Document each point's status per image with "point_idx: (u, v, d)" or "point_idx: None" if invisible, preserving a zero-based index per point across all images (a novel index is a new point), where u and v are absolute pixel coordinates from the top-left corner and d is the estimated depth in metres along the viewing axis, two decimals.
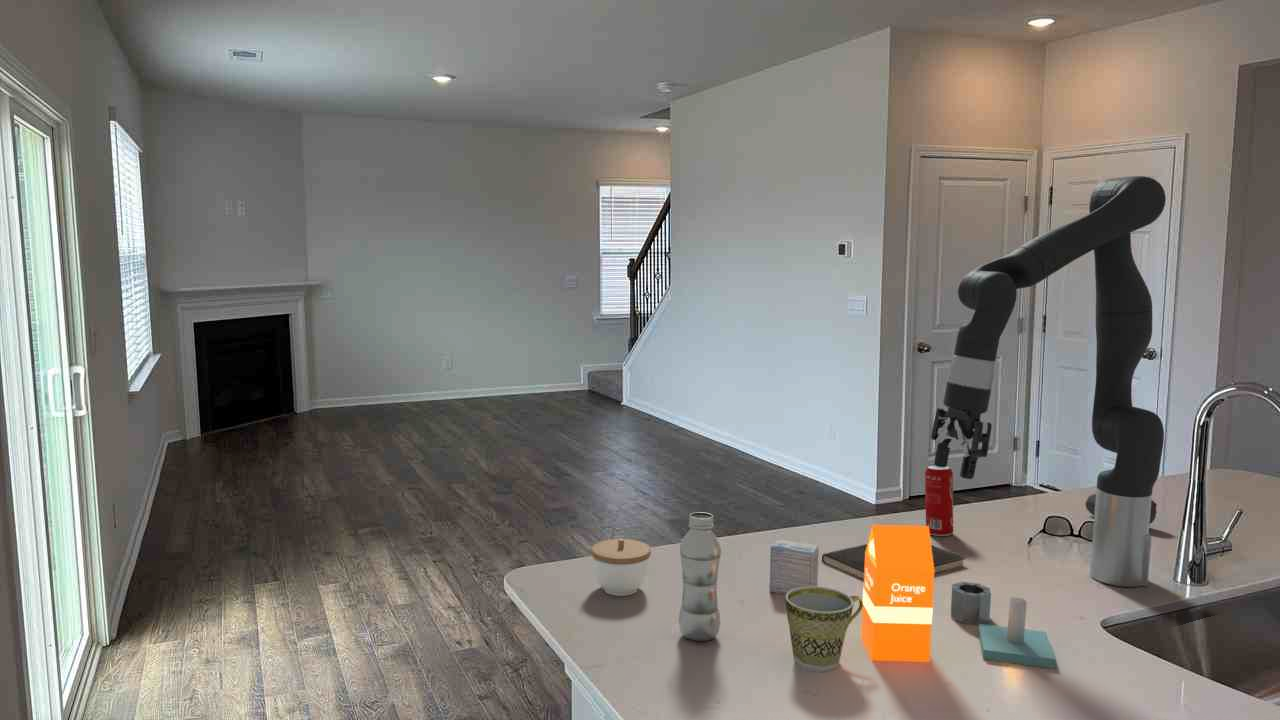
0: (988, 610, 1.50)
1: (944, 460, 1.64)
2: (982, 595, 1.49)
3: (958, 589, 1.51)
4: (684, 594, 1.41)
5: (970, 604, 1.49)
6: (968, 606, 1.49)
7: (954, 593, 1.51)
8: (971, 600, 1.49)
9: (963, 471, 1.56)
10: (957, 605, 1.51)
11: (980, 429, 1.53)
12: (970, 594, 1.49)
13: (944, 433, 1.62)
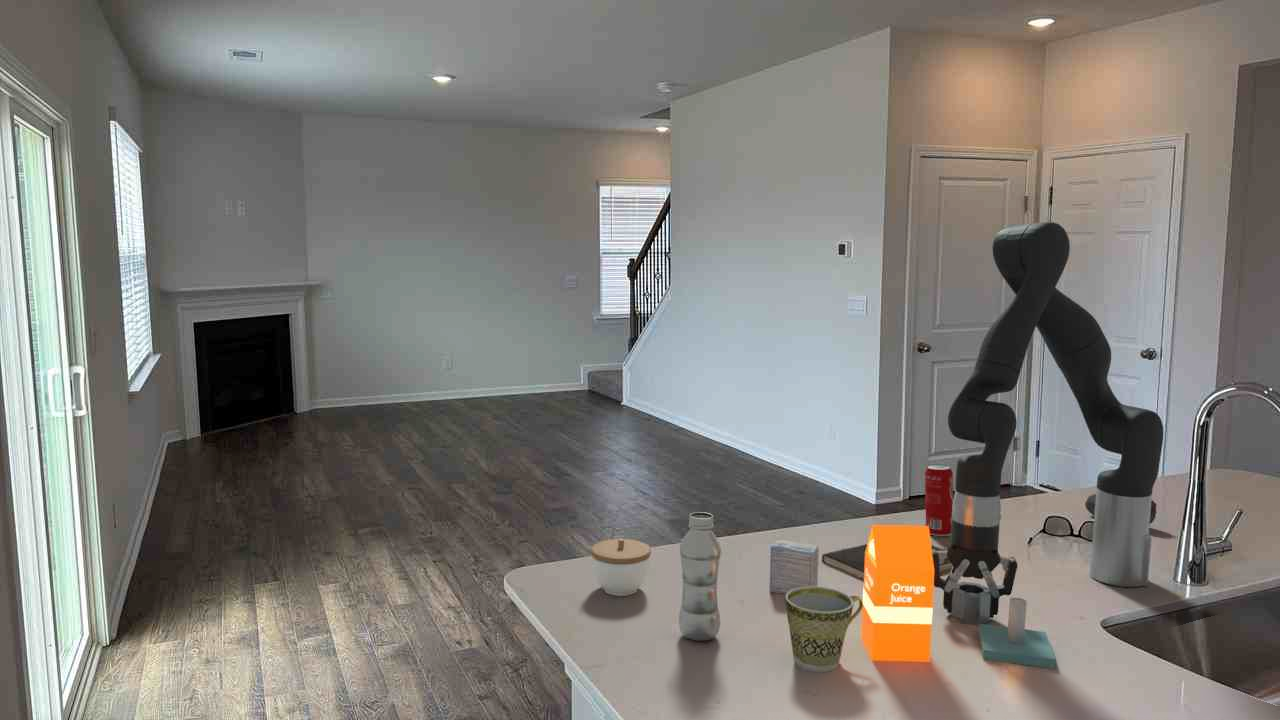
0: (988, 610, 1.50)
1: None
2: (982, 595, 1.49)
3: (958, 589, 1.51)
4: (684, 594, 1.41)
5: (970, 604, 1.49)
6: (968, 606, 1.49)
7: (954, 593, 1.51)
8: (971, 600, 1.49)
9: (993, 612, 1.50)
10: (957, 605, 1.51)
11: None
12: (970, 594, 1.49)
13: None
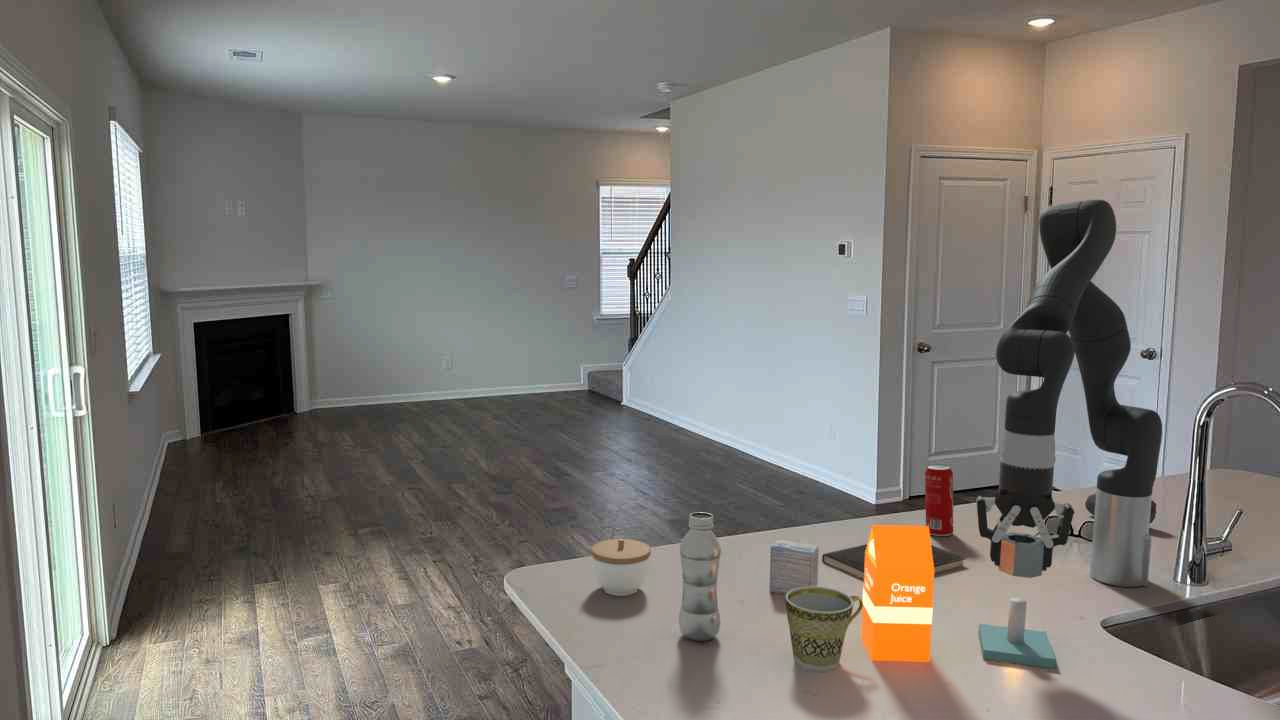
0: (1041, 561, 1.36)
1: None
2: (1034, 545, 1.35)
3: (1007, 539, 1.38)
4: (684, 594, 1.41)
5: (1021, 554, 1.35)
6: (1019, 557, 1.36)
7: (1003, 543, 1.37)
8: (1022, 550, 1.35)
9: (1046, 564, 1.36)
10: (1006, 556, 1.37)
11: None
12: (1021, 544, 1.36)
13: (1009, 525, 1.37)
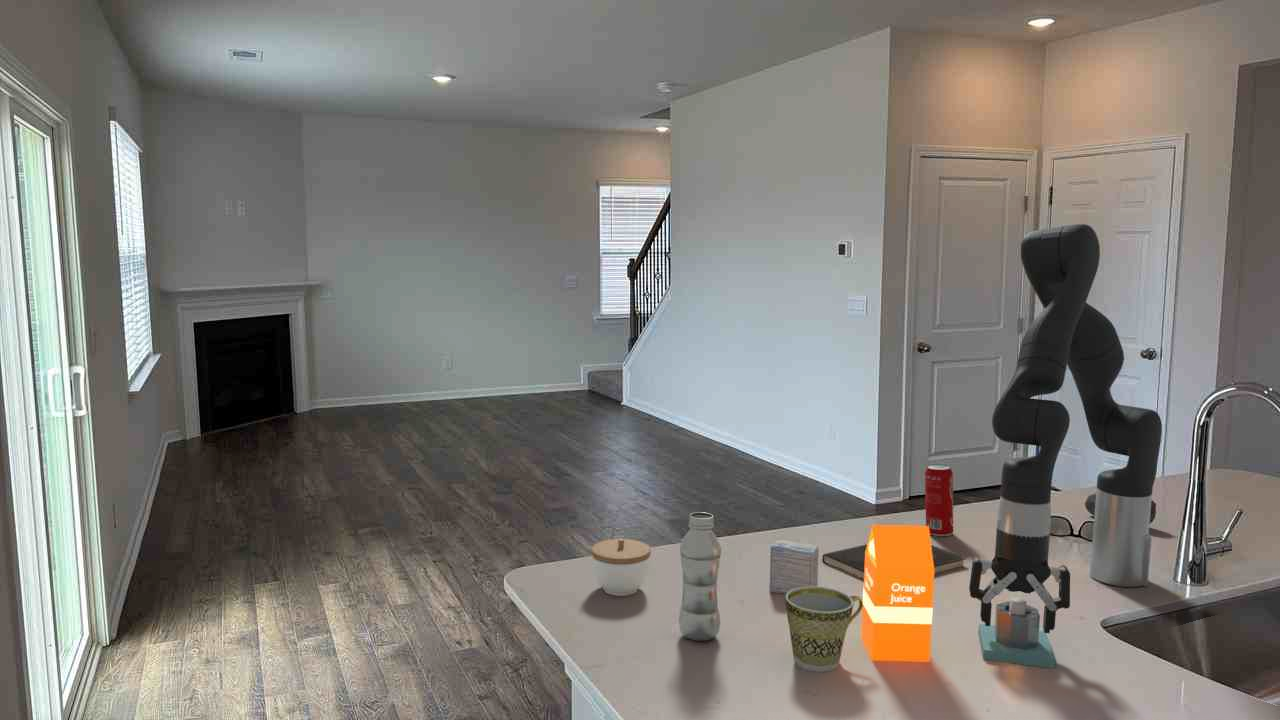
0: (1037, 633, 1.38)
1: None
2: (1030, 617, 1.37)
3: (1003, 610, 1.39)
4: (684, 594, 1.41)
5: (1017, 626, 1.37)
6: (1015, 629, 1.37)
7: (999, 614, 1.39)
8: (1018, 622, 1.37)
9: (1049, 626, 1.37)
10: (1003, 627, 1.38)
11: (1069, 578, 1.36)
12: (1017, 616, 1.37)
13: (1002, 589, 1.38)
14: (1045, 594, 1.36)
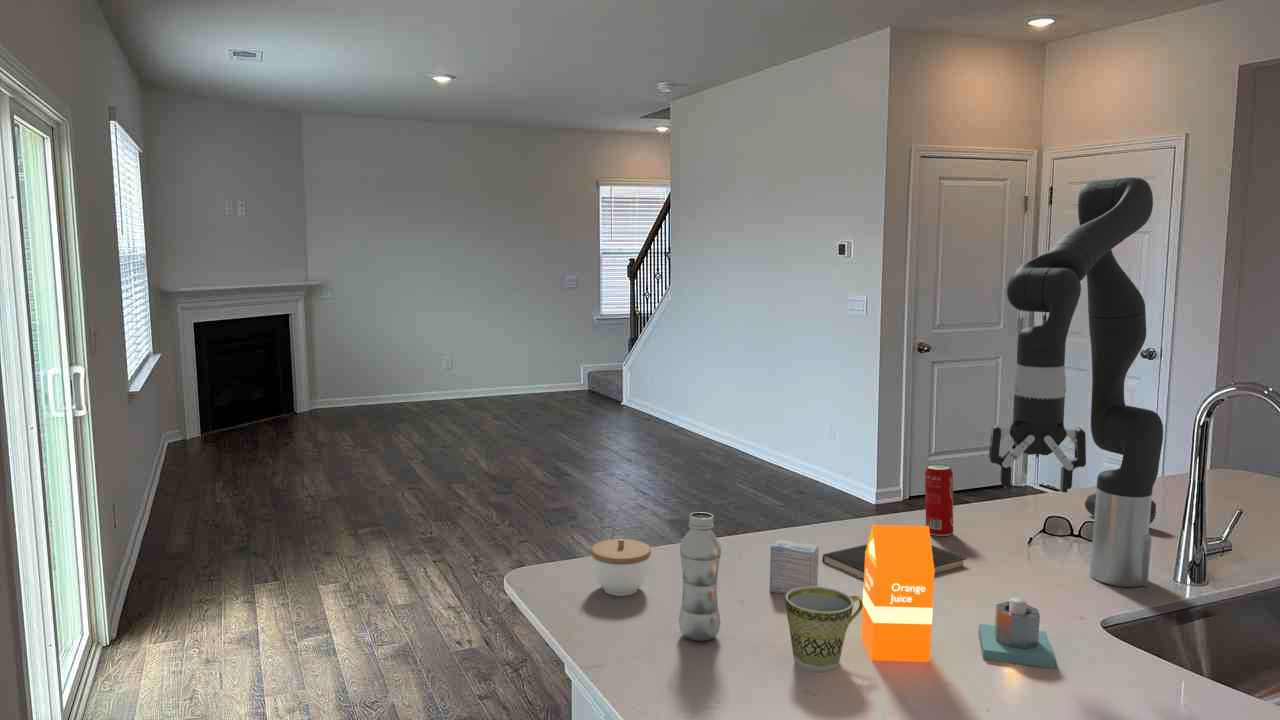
0: (1037, 633, 1.38)
1: None
2: (1030, 617, 1.37)
3: (1003, 610, 1.39)
4: (684, 594, 1.41)
5: (1017, 626, 1.37)
6: (1015, 629, 1.37)
7: (999, 614, 1.39)
8: (1018, 622, 1.37)
9: (1067, 485, 1.44)
10: (1003, 627, 1.38)
11: (1084, 437, 1.43)
12: (1017, 616, 1.37)
13: None
14: (1062, 454, 1.43)
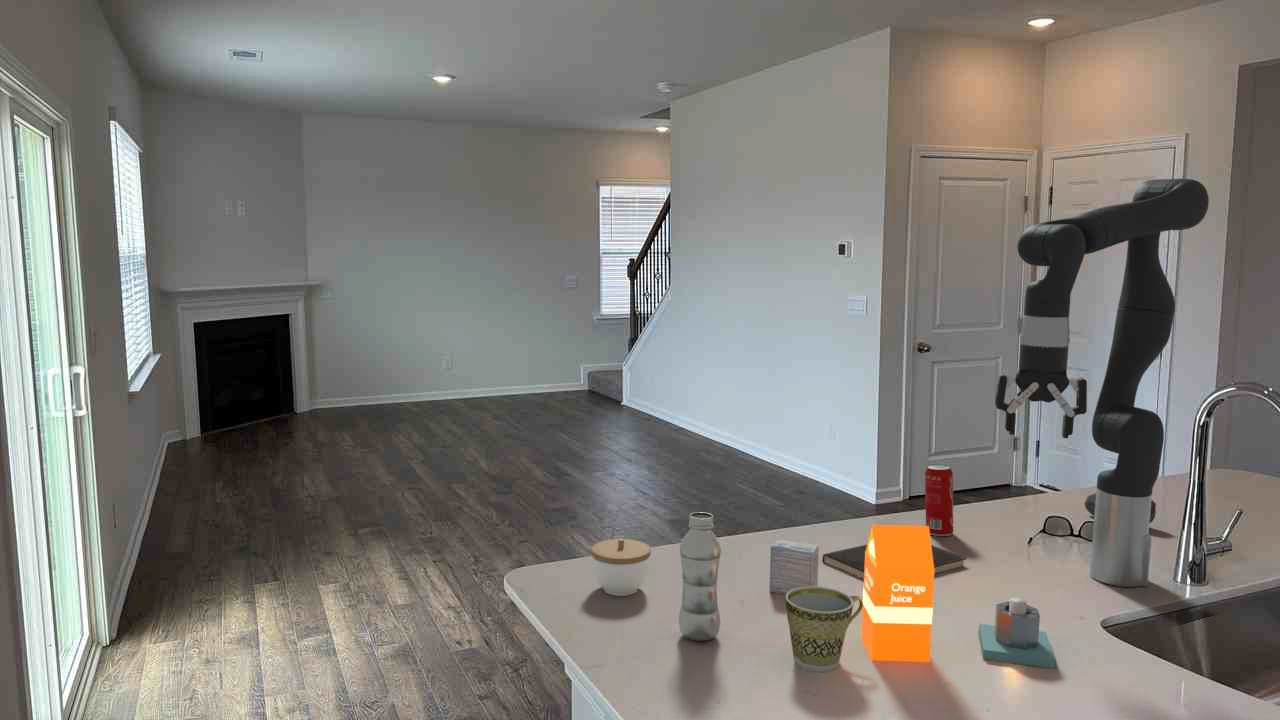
0: (1037, 633, 1.38)
1: None
2: (1030, 617, 1.37)
3: (1003, 610, 1.39)
4: (684, 594, 1.41)
5: (1017, 626, 1.37)
6: (1015, 629, 1.37)
7: (999, 614, 1.39)
8: (1018, 622, 1.37)
9: (1068, 431, 1.53)
10: (1003, 627, 1.38)
11: None
12: (1017, 616, 1.37)
13: (1025, 399, 1.54)
14: (1064, 401, 1.52)
